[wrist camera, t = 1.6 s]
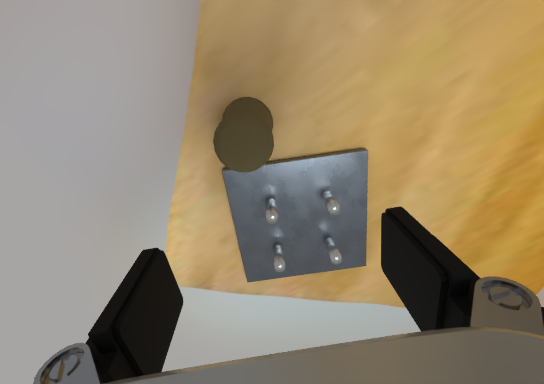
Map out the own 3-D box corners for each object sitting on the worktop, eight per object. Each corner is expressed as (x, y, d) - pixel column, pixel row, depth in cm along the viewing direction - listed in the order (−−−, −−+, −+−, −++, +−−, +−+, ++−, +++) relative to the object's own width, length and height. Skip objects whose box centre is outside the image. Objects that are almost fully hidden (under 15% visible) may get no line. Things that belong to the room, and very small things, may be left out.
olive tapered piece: (283, 121, 31) (295, 143, 21) (251, 158, 33) (248, 195, 23) (243, 85, 30) (236, 91, 20) (211, 126, 31) (190, 152, 21)
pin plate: (223, 168, 34) (217, 183, 29) (364, 147, 33) (381, 160, 29) (247, 276, 41) (246, 303, 36) (363, 260, 41) (376, 285, 36)
